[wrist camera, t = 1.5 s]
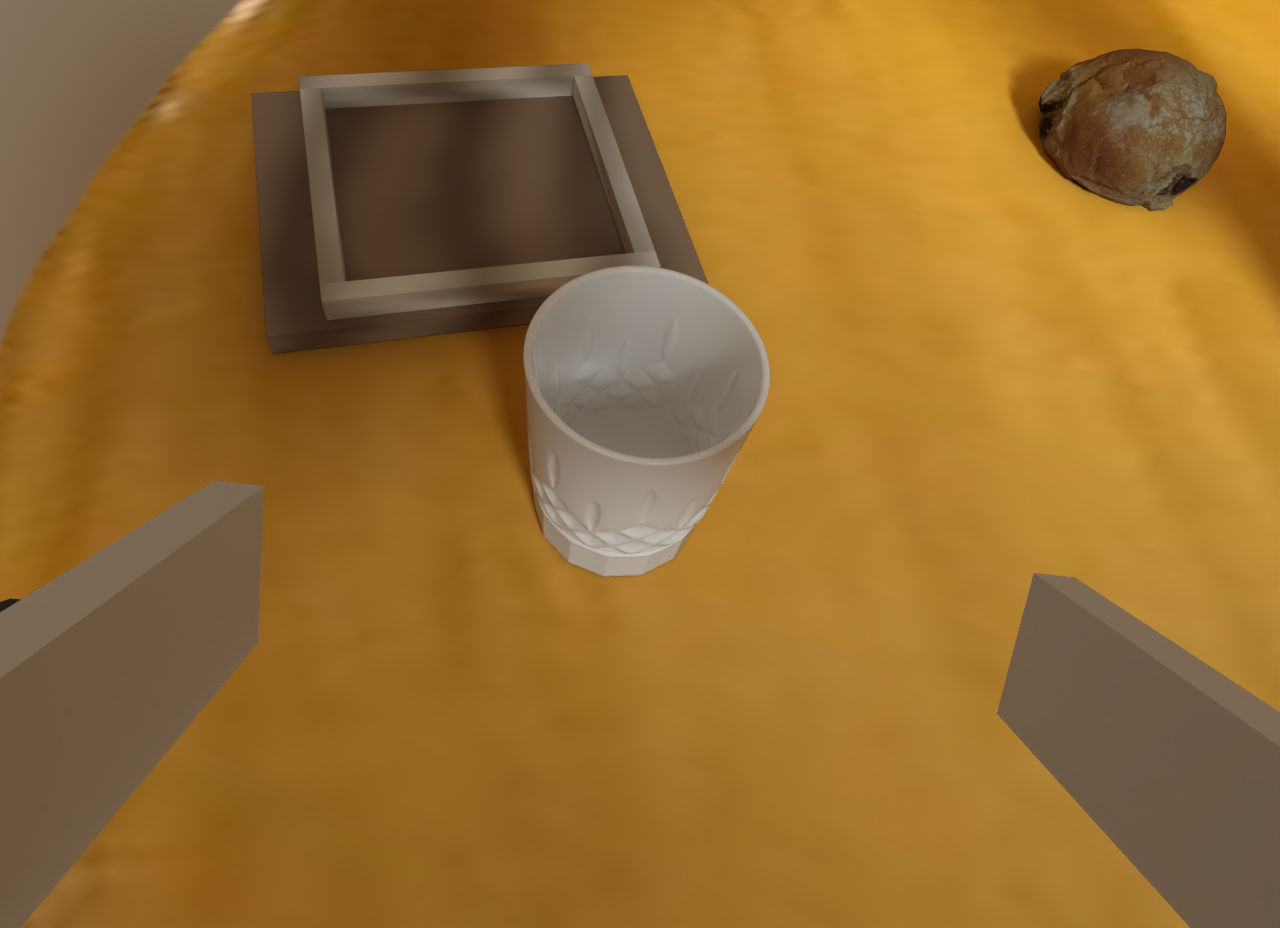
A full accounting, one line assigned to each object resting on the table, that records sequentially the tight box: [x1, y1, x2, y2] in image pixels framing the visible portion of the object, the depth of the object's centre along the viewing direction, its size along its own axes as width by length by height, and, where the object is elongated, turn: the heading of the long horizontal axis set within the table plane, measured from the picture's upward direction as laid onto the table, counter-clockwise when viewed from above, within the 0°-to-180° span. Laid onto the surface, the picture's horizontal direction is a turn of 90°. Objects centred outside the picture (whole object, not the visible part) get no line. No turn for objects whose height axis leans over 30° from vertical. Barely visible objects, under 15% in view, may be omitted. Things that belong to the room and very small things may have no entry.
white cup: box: [523, 266, 770, 576], centre depth 31 cm, size 8×8×10 cm
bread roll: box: [1038, 49, 1226, 211], centre depth 50 cm, size 10×10×8 cm
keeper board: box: [251, 64, 709, 354], centre depth 42 cm, size 20×16×2 cm
